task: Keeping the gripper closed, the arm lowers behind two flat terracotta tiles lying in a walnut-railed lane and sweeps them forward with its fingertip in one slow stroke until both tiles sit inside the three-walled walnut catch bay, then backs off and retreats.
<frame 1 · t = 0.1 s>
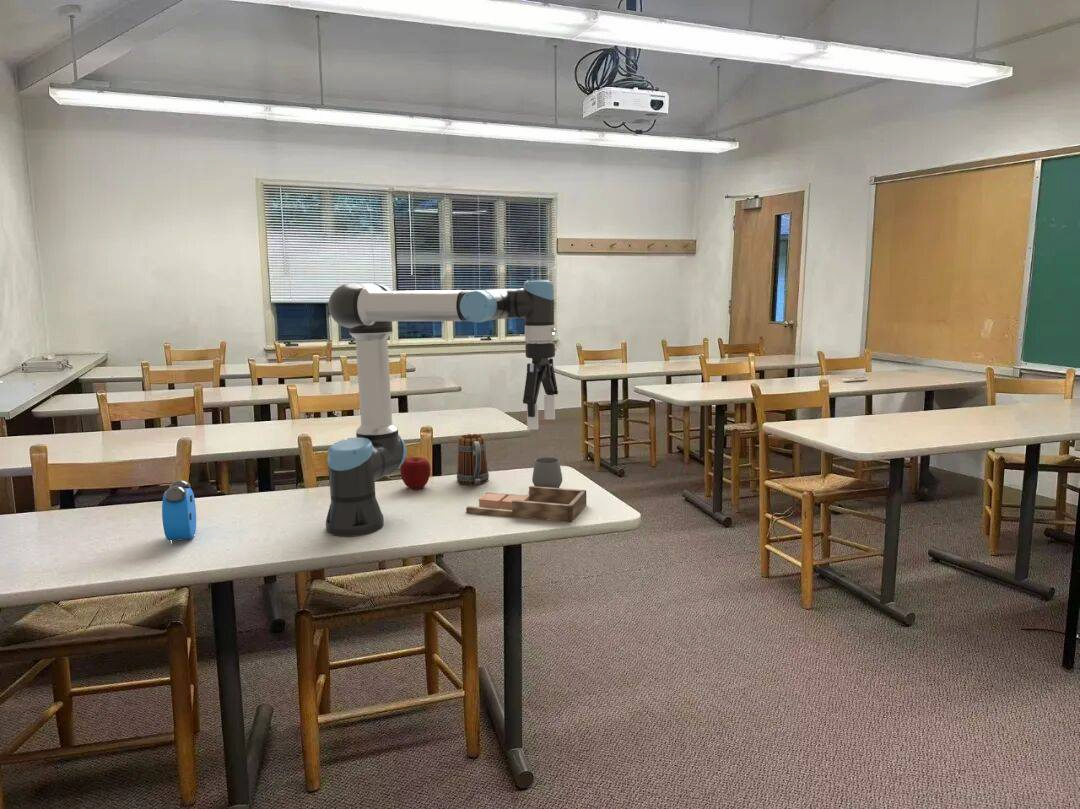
hand: (541, 424, 184), 28 cm above the table, fingers open, 13 cm apart
tile 2: (515, 508, 206), on the table
catch bay: (554, 511, 202), on the table
alarm clock: (183, 539, 186), on the table
mug: (474, 483, 233), on the table
cup: (547, 492, 222), on the table
tile 1: (492, 506, 208), on the table
apple: (416, 488, 228), on the table
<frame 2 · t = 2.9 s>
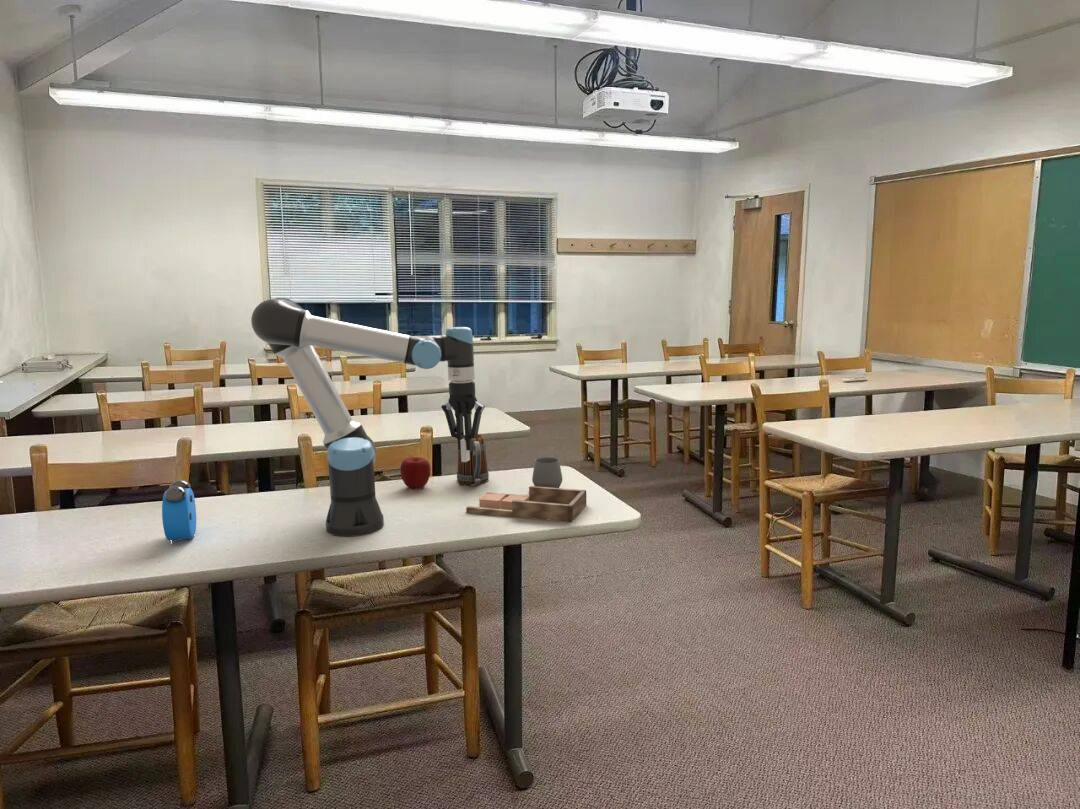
hand: (465, 460, 209), 13 cm above the table, fingers closed
nothing on the table moved.
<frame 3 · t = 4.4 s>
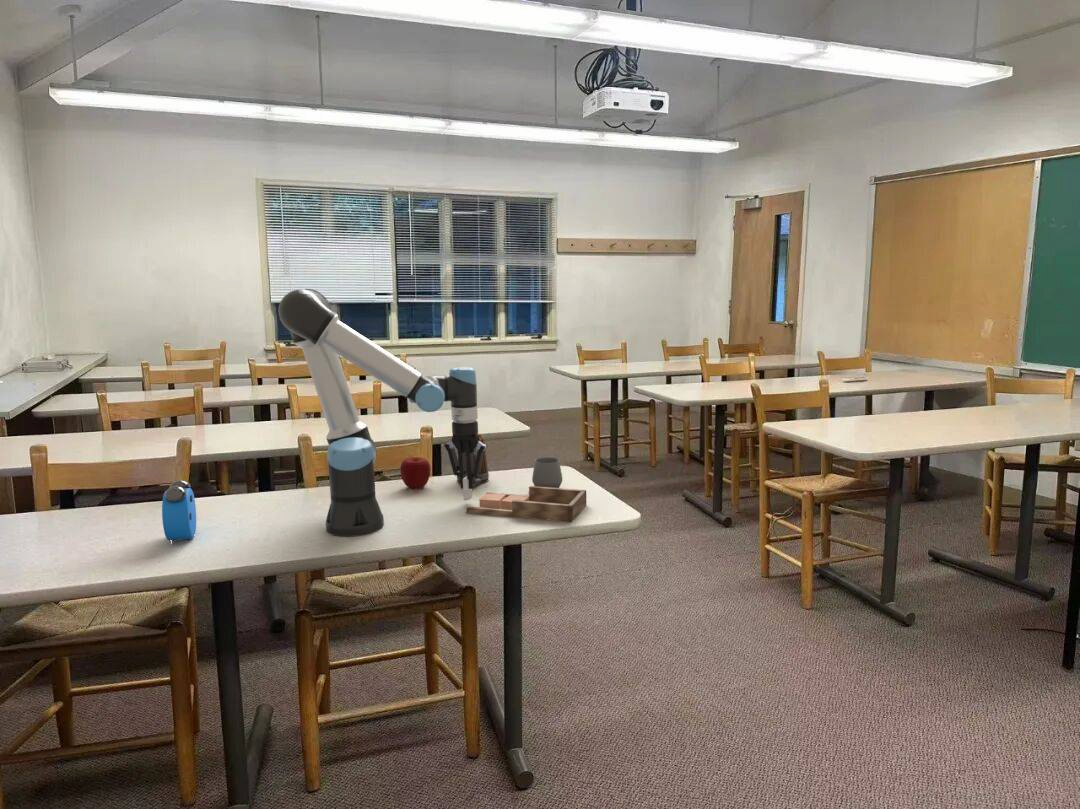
hand: (467, 498, 210), 1 cm above the table, fingers closed
nothing on the table moved.
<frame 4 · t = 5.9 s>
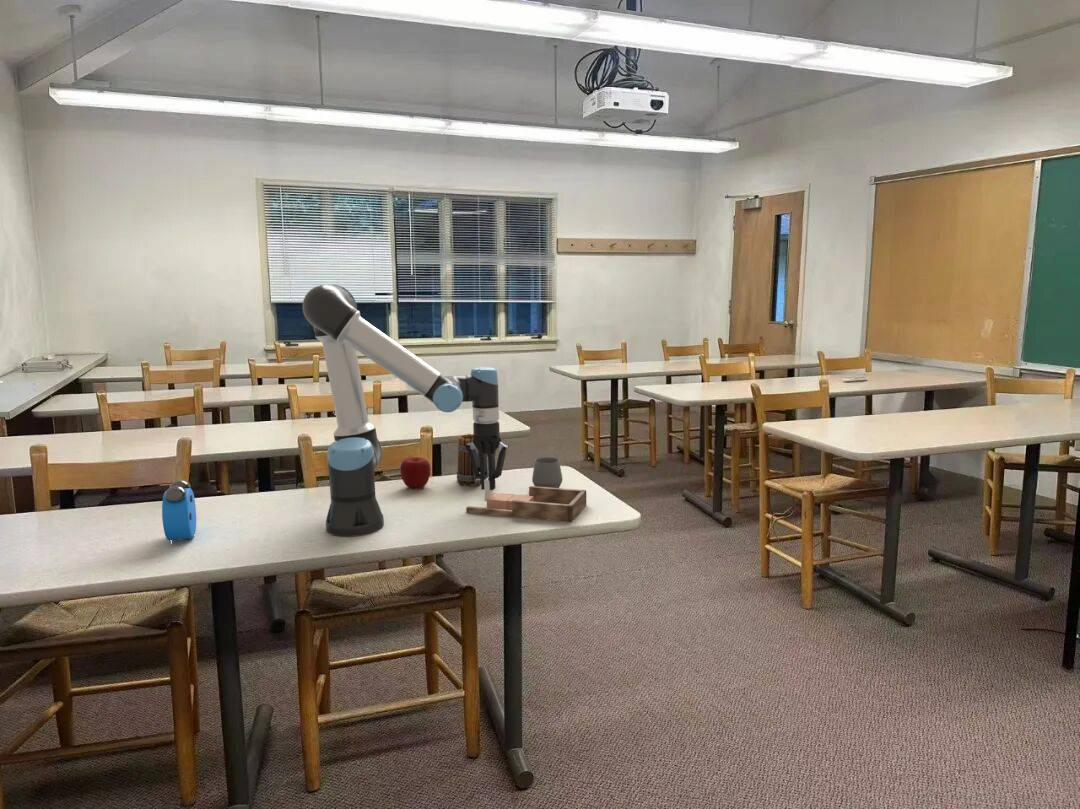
hand: (488, 500, 208), 2 cm above the table, fingers closed
tile 2: (520, 508, 206), on the table, touching tile 1
tile 1: (500, 507, 207), on the table, touching gripper, tile 2
everything else where it was.
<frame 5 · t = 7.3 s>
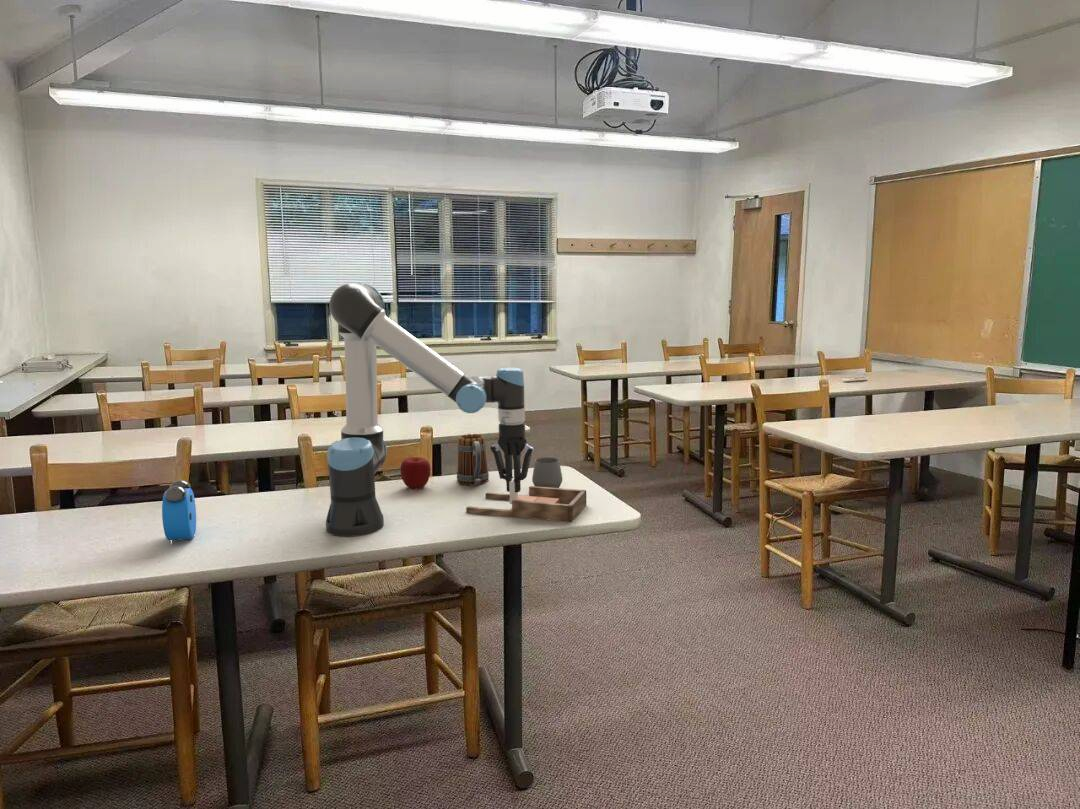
hand: (513, 502, 206), 2 cm above the table, fingers closed
tile 2: (546, 510, 203), on the table
tile 1: (525, 509, 205), on the table
everything else where it was.
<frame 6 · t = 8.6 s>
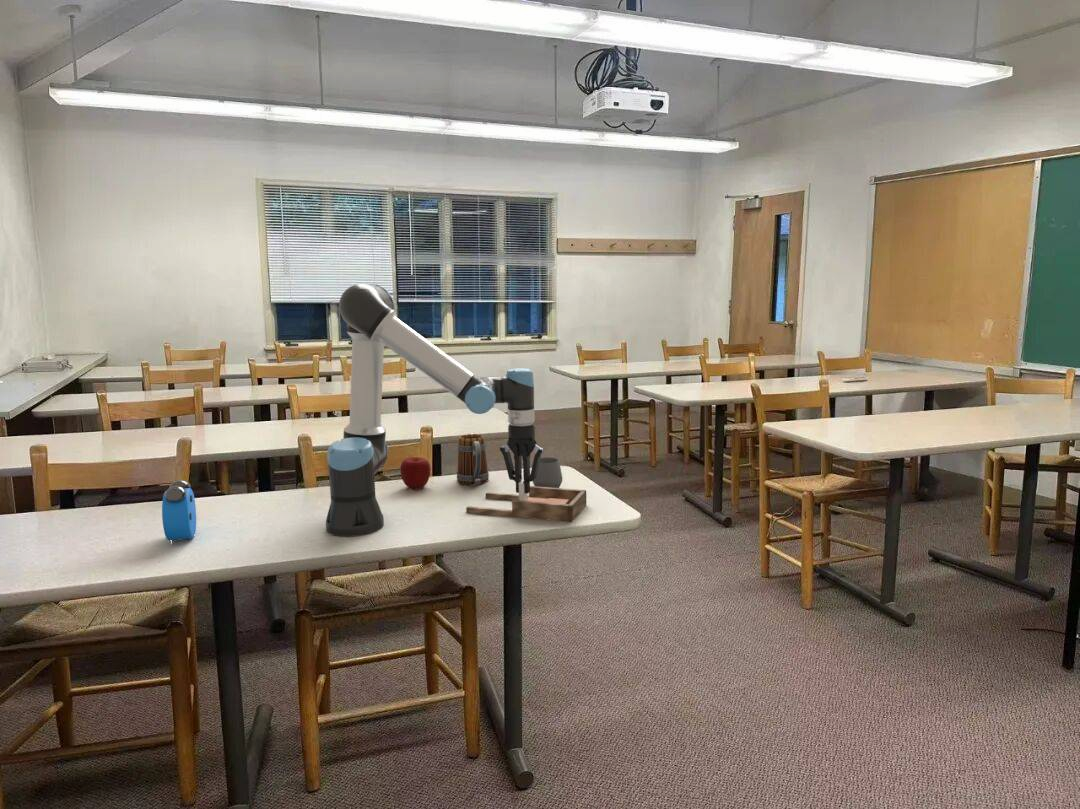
hand: (523, 503, 205), 1 cm above the table, fingers closed
tile 2: (556, 512, 202), on the table
tile 1: (535, 511, 204), on the table
everything else where it was.
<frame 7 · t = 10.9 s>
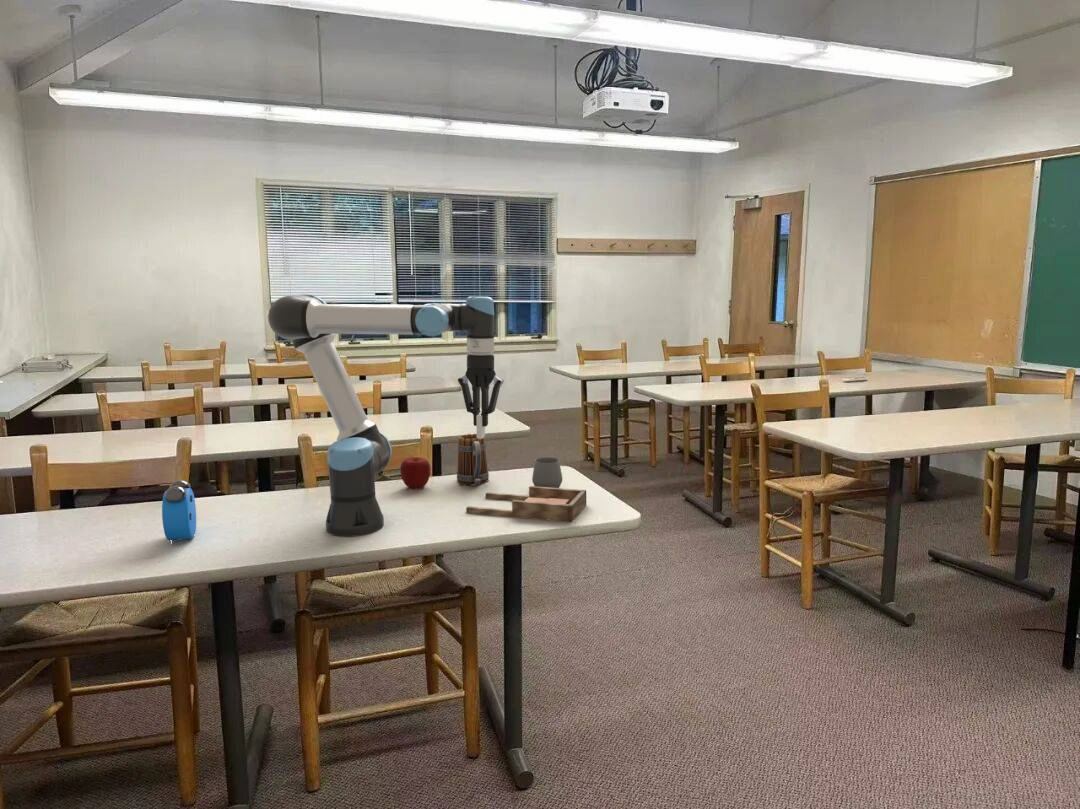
hand: (480, 437, 199), 22 cm above the table, fingers closed
nothing on the table moved.
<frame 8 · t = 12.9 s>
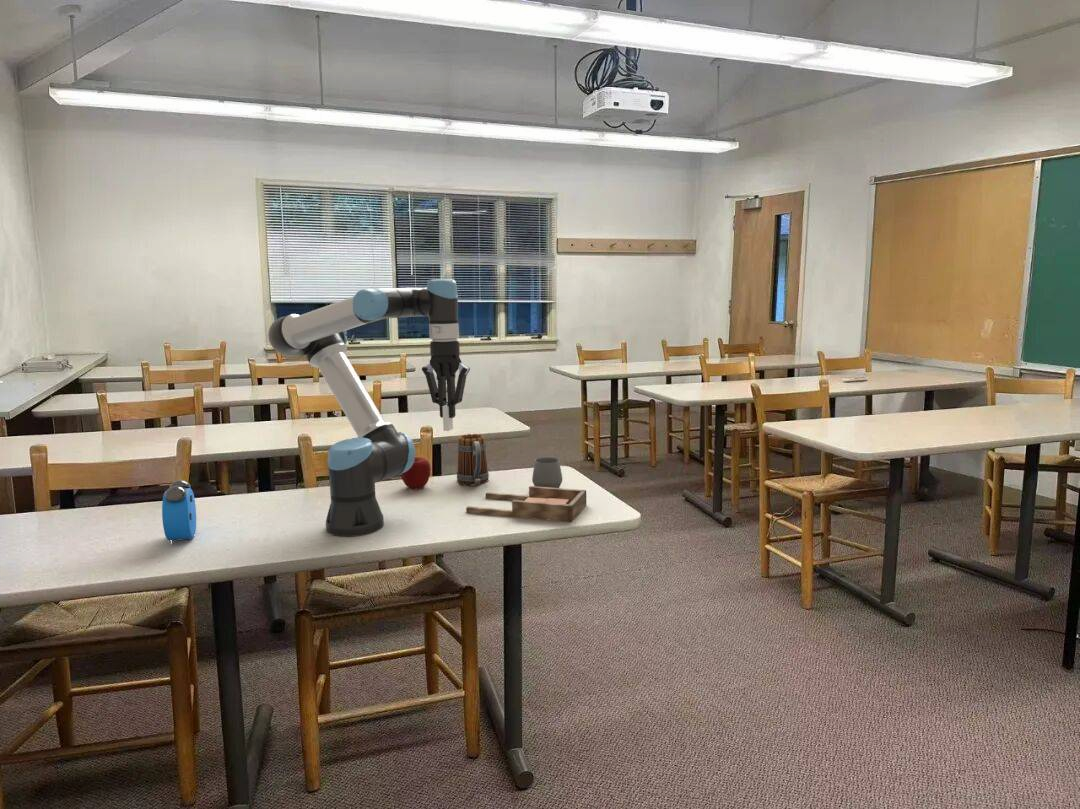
hand: (448, 429, 187), 26 cm above the table, fingers closed
nothing on the table moved.
at the end: tile 1 inside the target area (5.1 cm from its centre), on the table; tile 2 inside the target area (1.1 cm from its centre), on the table; tile 1 moved 13.2 cm from its start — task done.
